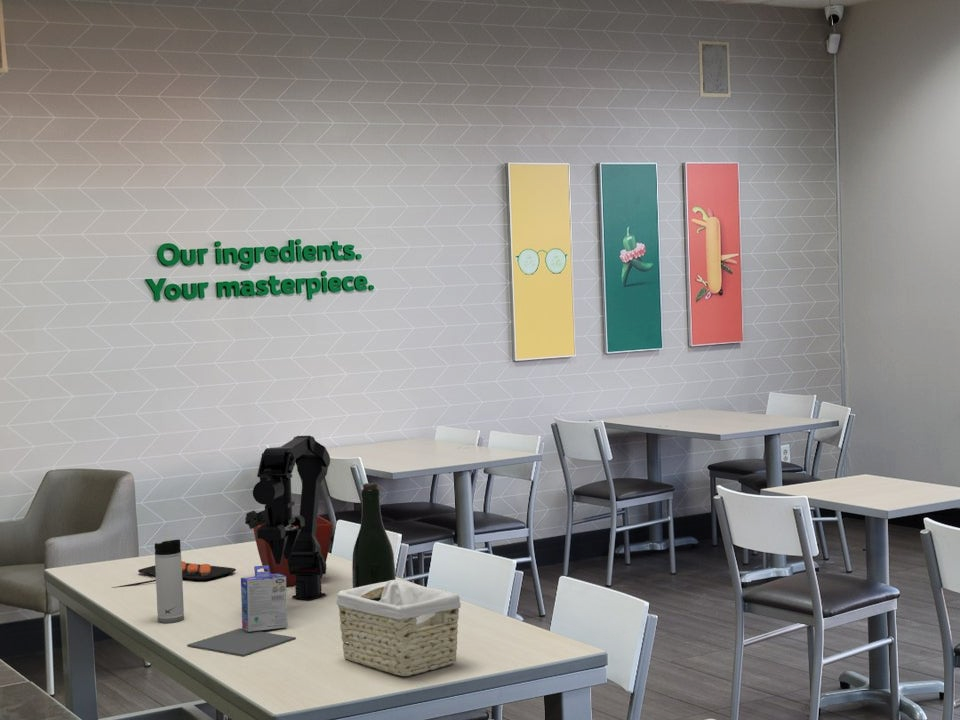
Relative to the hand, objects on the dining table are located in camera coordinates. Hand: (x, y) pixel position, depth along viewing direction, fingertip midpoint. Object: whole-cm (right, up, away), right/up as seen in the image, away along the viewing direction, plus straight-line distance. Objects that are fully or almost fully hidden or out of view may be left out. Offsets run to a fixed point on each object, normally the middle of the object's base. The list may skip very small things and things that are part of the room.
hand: (282, 561), depth 293 cm
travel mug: (-27, -14, -2) cm, 31 cm away
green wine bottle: (+24, -13, -11) cm, 29 cm away
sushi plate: (-41, -14, +48) cm, 65 cm away
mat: (-5, -14, -26) cm, 30 cm away
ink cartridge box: (-2, -13, -15) cm, 20 cm away
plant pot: (-3, -12, +38) cm, 41 cm away
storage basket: (+32, -13, -47) cm, 58 cm away
